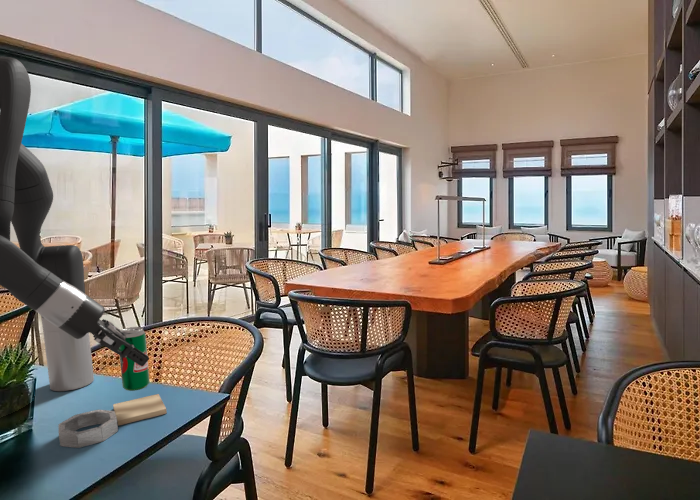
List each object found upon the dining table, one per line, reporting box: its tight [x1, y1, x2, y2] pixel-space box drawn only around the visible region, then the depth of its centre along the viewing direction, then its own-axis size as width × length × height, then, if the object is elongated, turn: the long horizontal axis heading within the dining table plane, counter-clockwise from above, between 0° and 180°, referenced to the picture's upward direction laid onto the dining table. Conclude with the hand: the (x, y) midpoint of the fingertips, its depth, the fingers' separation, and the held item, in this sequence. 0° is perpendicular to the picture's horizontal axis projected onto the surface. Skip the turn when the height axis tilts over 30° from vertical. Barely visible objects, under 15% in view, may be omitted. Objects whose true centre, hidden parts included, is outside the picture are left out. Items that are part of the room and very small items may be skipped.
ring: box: [57, 409, 119, 449], centre depth 93 cm, size 10×10×2 cm
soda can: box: [119, 326, 150, 392], centre depth 101 cm, size 5×5×12 cm
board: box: [112, 393, 168, 426], centre depth 102 cm, size 9×9×1 cm
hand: (143, 358), depth 102 cm, fingers closed on soda can, 5 cm apart
